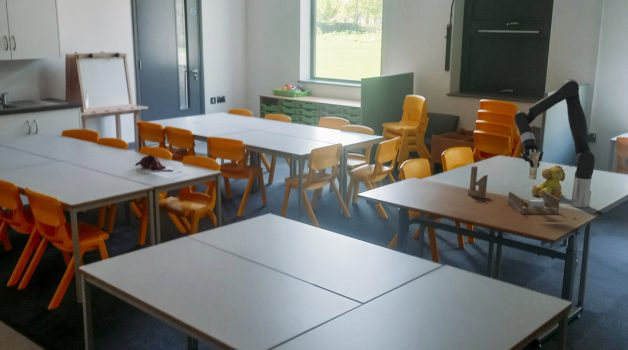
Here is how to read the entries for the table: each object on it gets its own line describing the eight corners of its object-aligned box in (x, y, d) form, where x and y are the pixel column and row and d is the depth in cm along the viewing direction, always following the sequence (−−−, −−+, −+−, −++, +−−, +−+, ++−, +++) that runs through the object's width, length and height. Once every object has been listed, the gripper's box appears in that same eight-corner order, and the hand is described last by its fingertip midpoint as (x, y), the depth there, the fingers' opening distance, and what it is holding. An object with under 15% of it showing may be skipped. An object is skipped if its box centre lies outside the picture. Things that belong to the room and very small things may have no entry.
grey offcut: (541, 205, 372) (542, 199, 372) (544, 206, 370) (544, 201, 369) (528, 205, 372) (528, 199, 371) (530, 206, 369) (530, 201, 368)
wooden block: (482, 198, 400) (484, 169, 396) (467, 194, 408) (470, 166, 404) (485, 197, 402) (488, 168, 398) (471, 193, 410) (473, 165, 406)
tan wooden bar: (533, 177, 377) (535, 152, 374) (536, 179, 374) (538, 153, 370) (528, 177, 377) (531, 152, 374) (531, 179, 373) (534, 153, 370)
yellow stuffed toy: (524, 192, 418) (527, 163, 414) (556, 191, 424) (560, 162, 420) (544, 201, 399) (547, 170, 394) (577, 199, 405) (581, 168, 401)
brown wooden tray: (543, 206, 385) (545, 191, 383) (557, 215, 368) (559, 199, 366) (507, 206, 383) (509, 191, 381) (520, 215, 366) (521, 199, 363)
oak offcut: (541, 210, 373) (541, 205, 372) (543, 211, 370) (544, 206, 370) (527, 210, 372) (528, 205, 372) (529, 211, 369) (530, 206, 369)
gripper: (519, 138, 377) (525, 163, 368) (542, 138, 378) (549, 163, 369) (514, 145, 383) (521, 170, 374) (537, 145, 385) (544, 170, 376)
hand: (535, 166), depth 372 cm, fingers closed on tan wooden bar, 2 cm apart
